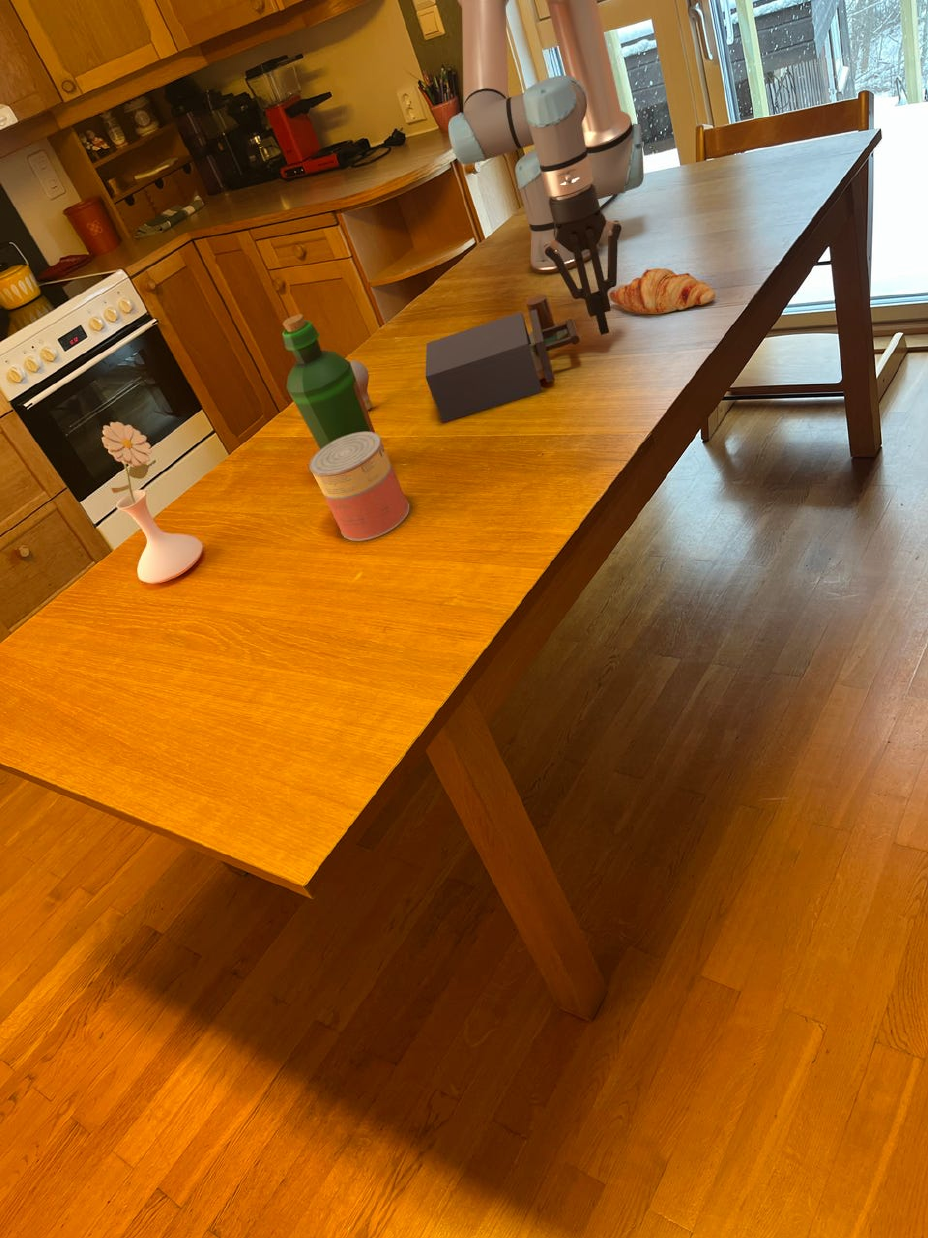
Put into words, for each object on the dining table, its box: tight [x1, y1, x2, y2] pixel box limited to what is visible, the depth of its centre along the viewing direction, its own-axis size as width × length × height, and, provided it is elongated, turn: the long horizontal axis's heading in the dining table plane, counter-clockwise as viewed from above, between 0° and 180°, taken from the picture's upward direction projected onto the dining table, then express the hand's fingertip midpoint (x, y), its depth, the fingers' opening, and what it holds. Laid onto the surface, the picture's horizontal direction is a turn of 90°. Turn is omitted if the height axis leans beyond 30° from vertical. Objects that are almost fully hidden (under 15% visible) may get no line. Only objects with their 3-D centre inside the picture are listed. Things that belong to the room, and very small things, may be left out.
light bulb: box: [348, 360, 373, 412], centre depth 169 cm, size 6×6×10 cm
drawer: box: [528, 310, 581, 383], centre depth 157 cm, size 24×15×7 cm, turn 90°
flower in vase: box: [101, 421, 204, 585], centre depth 141 cm, size 13×11×25 cm
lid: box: [525, 294, 569, 344], centre depth 168 cm, size 9×9×8 cm
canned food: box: [308, 432, 410, 542], centre depth 135 cm, size 11×11×12 cm
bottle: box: [281, 313, 376, 450], centre depth 143 cm, size 11×11×28 cm
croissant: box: [609, 267, 716, 315], centre depth 163 cm, size 21×10×8 cm, turn 52°
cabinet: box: [425, 311, 543, 424], centre depth 158 cm, size 18×15×9 cm
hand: (604, 330), depth 155 cm, fingers closed
